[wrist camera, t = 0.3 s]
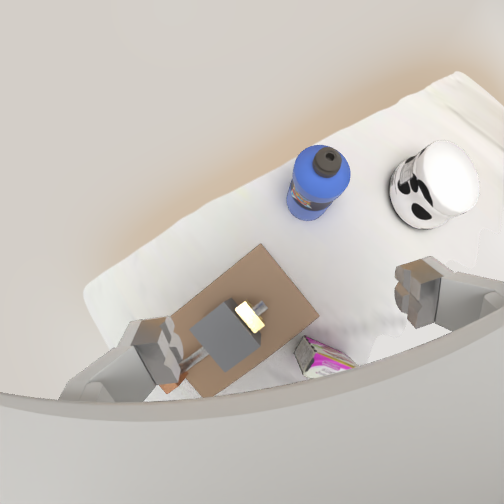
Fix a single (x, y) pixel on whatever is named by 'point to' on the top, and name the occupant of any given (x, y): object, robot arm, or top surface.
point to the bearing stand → (240, 321)
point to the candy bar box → (320, 359)
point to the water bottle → (317, 181)
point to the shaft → (203, 354)
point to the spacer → (250, 316)
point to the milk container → (434, 185)
